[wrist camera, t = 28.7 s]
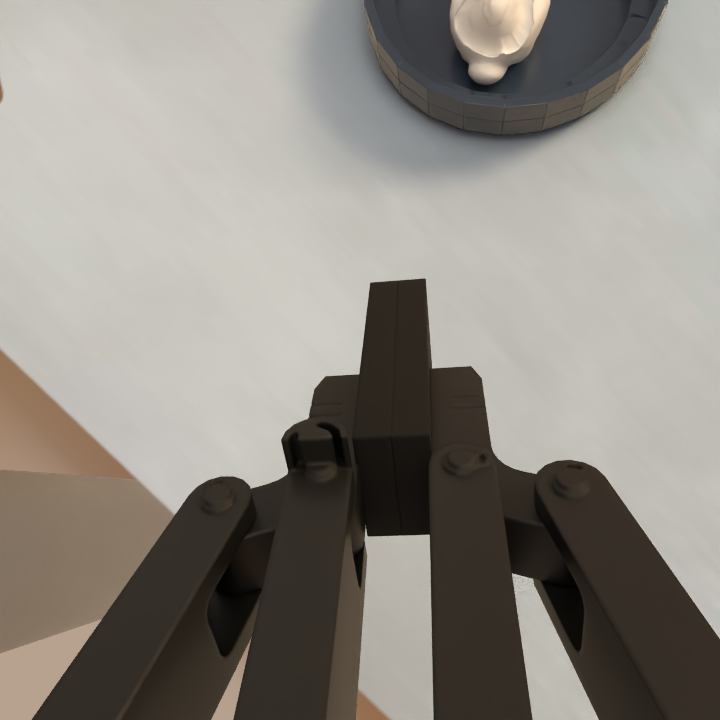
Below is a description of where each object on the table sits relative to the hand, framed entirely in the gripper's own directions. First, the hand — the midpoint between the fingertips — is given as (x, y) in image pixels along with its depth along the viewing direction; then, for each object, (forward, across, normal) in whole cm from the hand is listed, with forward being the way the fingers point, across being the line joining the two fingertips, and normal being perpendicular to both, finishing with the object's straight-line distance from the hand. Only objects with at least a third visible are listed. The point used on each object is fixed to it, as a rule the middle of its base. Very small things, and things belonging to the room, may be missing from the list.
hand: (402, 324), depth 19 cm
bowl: (+37, +7, +3) cm, 38 cm away
